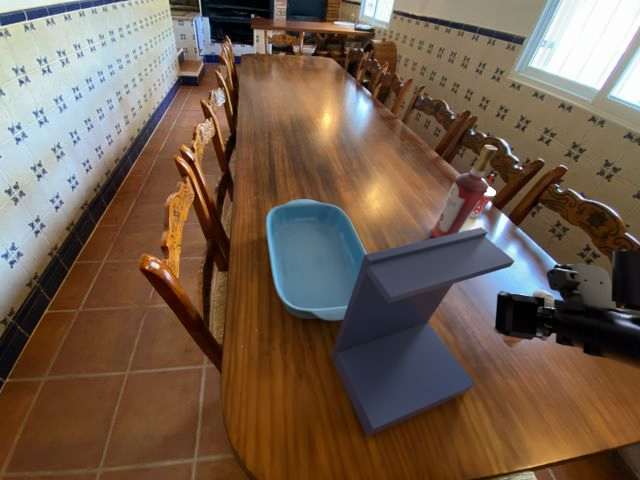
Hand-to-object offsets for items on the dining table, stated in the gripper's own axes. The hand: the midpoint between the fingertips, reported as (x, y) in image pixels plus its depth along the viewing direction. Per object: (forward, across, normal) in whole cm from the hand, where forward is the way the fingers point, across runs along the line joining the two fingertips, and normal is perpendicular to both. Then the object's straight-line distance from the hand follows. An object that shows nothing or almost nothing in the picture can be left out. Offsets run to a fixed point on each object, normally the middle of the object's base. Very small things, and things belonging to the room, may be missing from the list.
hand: (524, 311), depth 51 cm
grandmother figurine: (+4, 0, +6) cm, 7 cm away
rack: (+3, +19, +15) cm, 25 cm away
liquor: (+32, +1, -14) cm, 34 cm away
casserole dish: (+19, +36, -1) cm, 41 cm away
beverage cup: (+42, -12, -24) cm, 50 cm away
